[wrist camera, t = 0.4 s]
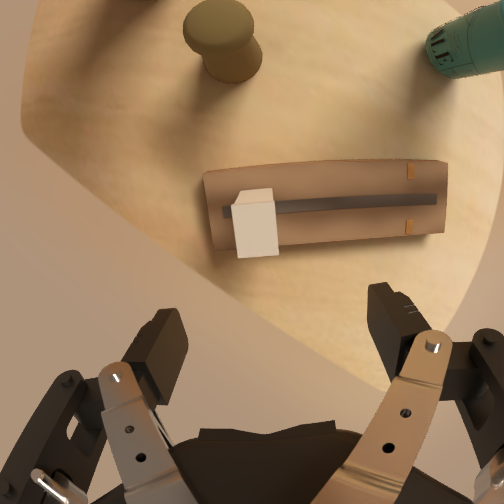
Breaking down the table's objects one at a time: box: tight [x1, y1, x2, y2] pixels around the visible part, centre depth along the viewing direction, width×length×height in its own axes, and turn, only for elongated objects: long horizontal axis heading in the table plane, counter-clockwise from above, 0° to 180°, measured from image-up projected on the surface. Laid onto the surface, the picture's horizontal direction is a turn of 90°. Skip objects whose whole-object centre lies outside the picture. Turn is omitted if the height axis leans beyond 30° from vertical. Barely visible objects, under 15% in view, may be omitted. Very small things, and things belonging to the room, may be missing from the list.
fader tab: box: [231, 188, 279, 258], centre depth 25 cm, size 4×3×7 cm
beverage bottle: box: [426, 0, 504, 79], centre depth 13 cm, size 6×7×20 cm
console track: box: [203, 159, 448, 251], centre depth 29 cm, size 8×26×3 cm, turn 96°
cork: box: [183, 0, 262, 83], centre depth 20 cm, size 6×6×11 cm
